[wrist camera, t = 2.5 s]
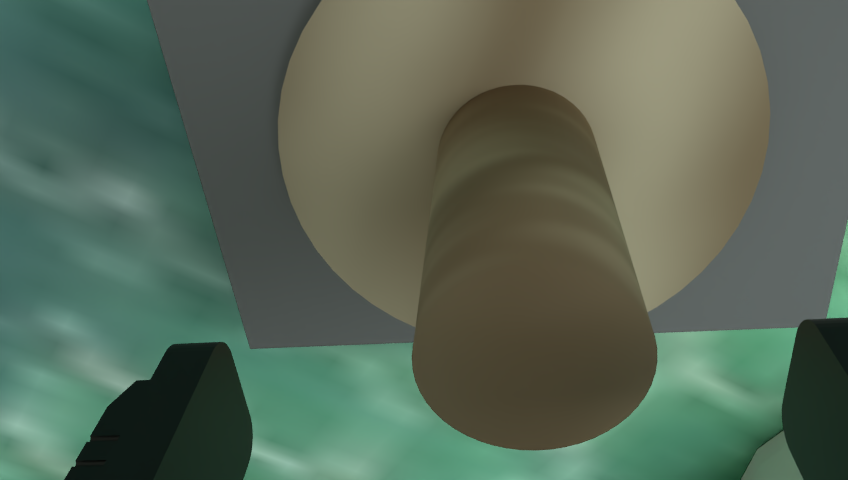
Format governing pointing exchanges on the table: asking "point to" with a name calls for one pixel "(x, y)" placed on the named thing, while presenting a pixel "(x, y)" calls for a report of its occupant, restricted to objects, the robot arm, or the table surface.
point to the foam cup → (773, 462)
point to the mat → (367, 324)
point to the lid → (524, 187)
